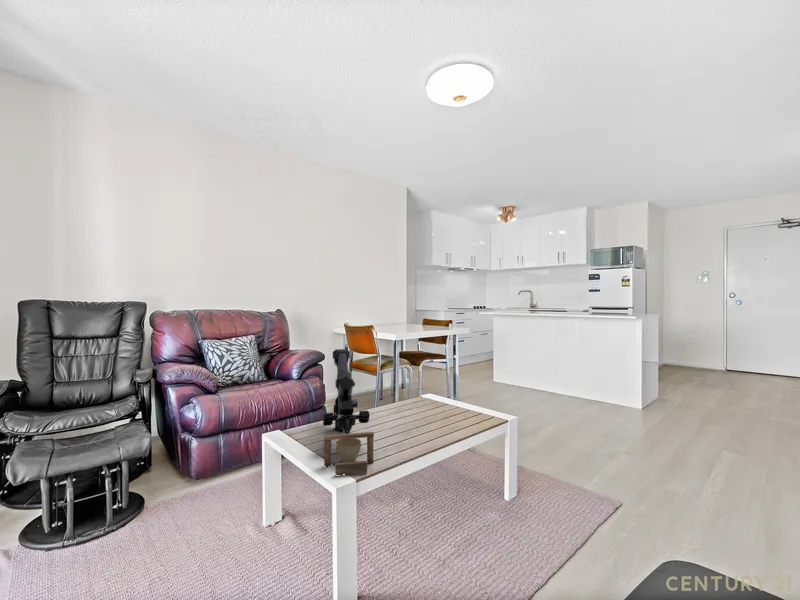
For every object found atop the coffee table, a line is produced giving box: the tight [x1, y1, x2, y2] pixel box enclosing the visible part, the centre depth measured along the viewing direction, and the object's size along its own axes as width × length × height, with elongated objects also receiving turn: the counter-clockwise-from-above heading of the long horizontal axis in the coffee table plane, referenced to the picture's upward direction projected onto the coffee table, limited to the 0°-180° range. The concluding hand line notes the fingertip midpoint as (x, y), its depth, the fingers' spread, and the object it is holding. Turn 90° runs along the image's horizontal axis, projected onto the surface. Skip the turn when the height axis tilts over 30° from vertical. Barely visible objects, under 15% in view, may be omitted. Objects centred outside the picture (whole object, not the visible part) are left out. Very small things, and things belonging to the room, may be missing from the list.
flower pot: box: [335, 438, 362, 463], centre depth 149 cm, size 10×10×7 cm
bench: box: [323, 431, 375, 476], centre depth 142 cm, size 10×18×11 cm, turn 102°
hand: (347, 437), depth 153 cm, fingers closed, pressing on flower pot
